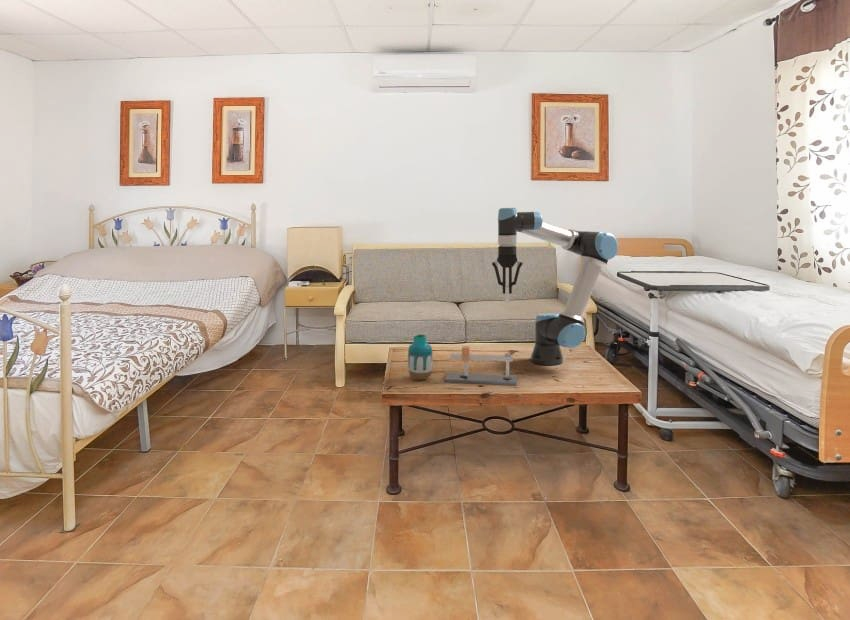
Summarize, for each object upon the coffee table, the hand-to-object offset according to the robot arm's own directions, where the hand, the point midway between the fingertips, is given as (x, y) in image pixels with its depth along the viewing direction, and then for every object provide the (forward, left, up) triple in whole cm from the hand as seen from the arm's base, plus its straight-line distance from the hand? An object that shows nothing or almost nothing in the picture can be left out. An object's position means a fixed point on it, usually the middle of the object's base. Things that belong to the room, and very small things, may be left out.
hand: (507, 301), depth 224 cm
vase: (+36, +9, -34) cm, 50 cm away
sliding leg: (+17, +6, -32) cm, 36 cm away
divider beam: (+10, +6, -32) cm, 34 cm away
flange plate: (+10, +6, -33) cm, 35 cm away
